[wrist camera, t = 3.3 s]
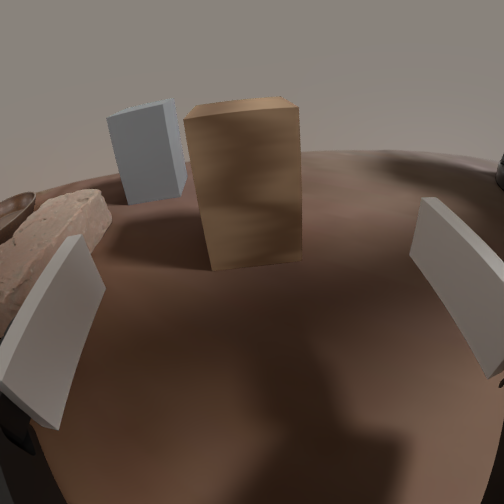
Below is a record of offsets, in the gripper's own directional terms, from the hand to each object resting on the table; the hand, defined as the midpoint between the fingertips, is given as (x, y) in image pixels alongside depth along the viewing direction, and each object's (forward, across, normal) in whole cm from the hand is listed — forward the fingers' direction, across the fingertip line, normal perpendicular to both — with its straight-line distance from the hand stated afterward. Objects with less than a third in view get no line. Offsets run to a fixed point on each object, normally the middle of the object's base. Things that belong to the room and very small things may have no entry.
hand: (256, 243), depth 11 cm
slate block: (+23, -10, -6) cm, 26 cm away
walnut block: (+10, 0, -6) cm, 12 cm away
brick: (+9, -18, -7) cm, 21 cm away
